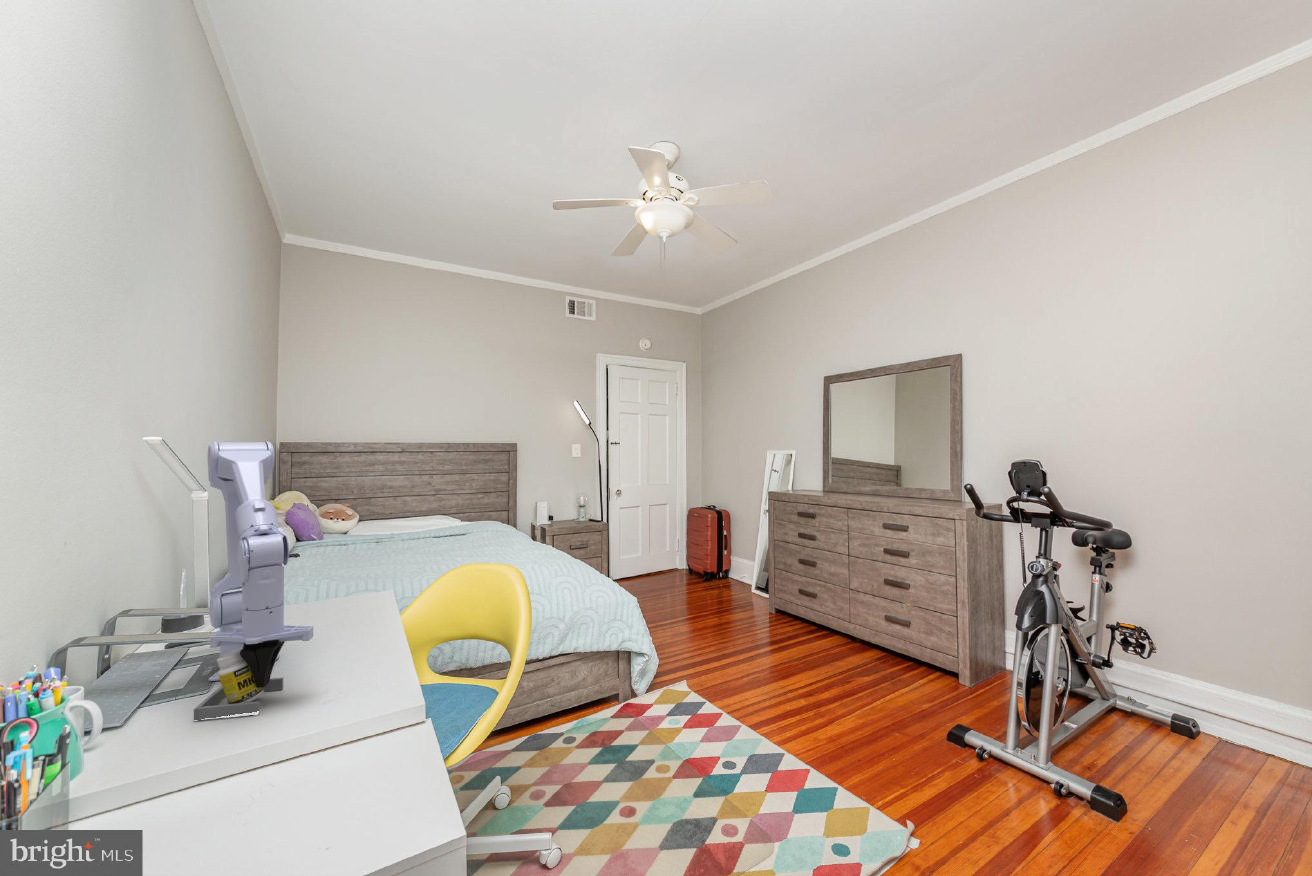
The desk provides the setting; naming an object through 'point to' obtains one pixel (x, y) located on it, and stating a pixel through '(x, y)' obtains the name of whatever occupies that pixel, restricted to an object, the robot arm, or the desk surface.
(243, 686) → the supplement bottle
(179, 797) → the desk surface
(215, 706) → the cradle
